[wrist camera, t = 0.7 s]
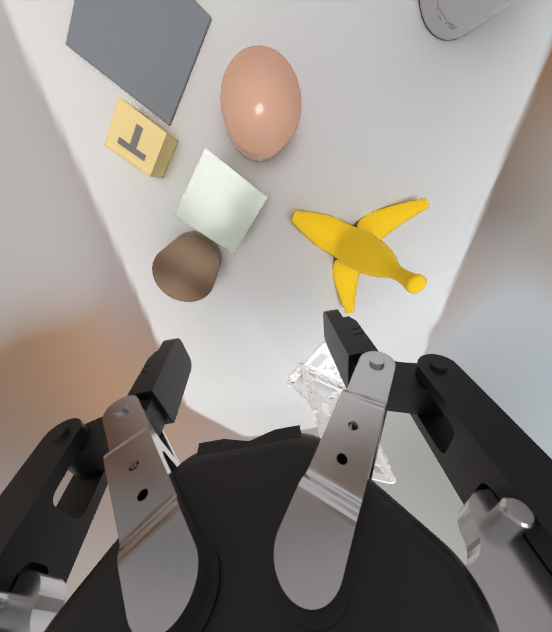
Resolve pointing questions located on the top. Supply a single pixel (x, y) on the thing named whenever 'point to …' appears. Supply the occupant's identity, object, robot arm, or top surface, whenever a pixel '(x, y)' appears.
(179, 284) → the canister
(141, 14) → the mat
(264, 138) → the canister
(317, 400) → the film strip holder
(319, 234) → the banana peel
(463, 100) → the top surface
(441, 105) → the top surface
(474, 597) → the robot arm
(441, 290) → the top surface
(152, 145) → the letter cube
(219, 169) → the pale green square canister
